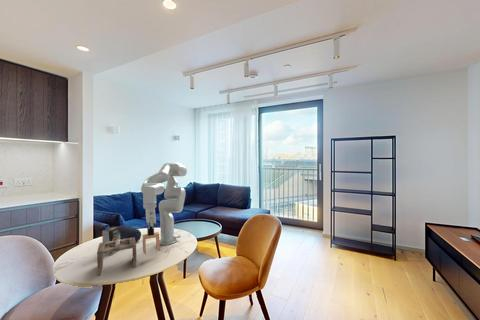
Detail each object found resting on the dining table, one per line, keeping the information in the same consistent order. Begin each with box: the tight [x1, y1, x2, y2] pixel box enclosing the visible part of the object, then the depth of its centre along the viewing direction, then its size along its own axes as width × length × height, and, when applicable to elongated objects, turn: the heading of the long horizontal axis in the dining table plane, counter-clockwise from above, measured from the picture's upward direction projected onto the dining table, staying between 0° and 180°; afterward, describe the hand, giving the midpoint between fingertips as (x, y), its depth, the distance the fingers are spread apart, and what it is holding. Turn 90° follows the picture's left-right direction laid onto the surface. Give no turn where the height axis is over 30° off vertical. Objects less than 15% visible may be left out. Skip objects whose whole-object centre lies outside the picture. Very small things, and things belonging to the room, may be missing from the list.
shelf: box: [96, 237, 137, 277], centre depth 129 cm, size 19×14×14 cm
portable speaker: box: [117, 225, 142, 243], centre depth 169 cm, size 25×10×10 cm, turn 58°
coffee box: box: [101, 226, 121, 256], centre depth 147 cm, size 9×6×16 cm
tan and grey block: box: [141, 227, 161, 255], centre depth 138 cm, size 9×4×15 cm, turn 118°
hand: (150, 233), depth 138 cm, fingers closed on tan and grey block, 3 cm apart
